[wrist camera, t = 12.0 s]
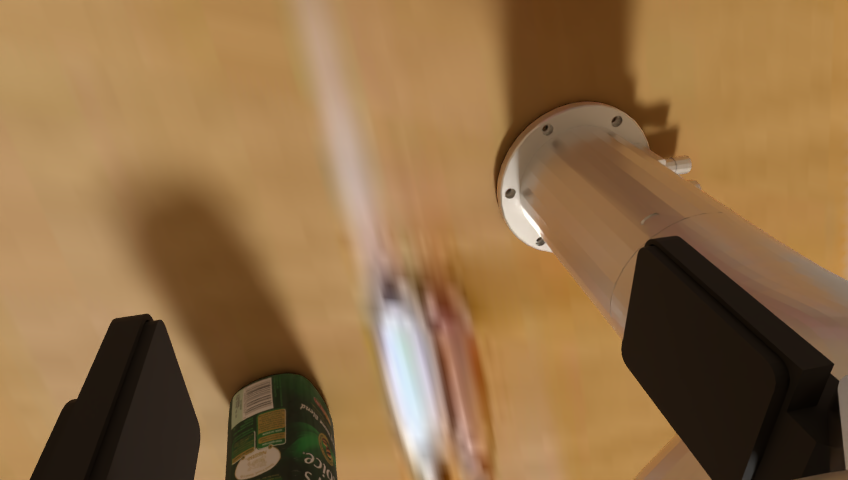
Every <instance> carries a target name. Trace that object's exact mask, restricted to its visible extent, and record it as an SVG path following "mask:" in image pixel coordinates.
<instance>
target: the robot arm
mask: <svg viewBox="0 0 848 480" xmlns="http://www.w3.org/2000/svg"><path fill="white" fill-rule="evenodd" d="M545 125H546V127H545V128H544V129H543V127H544V126H545ZM690 170H691V160H690V158H689V157H688V156H678V157H670V158H669V159H663V158H662V157H660V156H659V155H657V154H656V153H654V152H653V151H651V150H650V149H649V143H648V141H647V139H646V136H645V134H644V132H643V130H642V129H641V128H640V126H639V125H638V124H637V122H636V121H635V120H634V119H632V118H631V117H630V116H628V115H627V114H626V113H624V112H623V111H621V110H619V109H617V108H615V107H613V106H610V105H607V104H604V103H600V102H588V101H586V102H577V103H571V104H567V105H564V106H561V107H558V108H555V109H553V110H552V111H550V112H548V113H546V114H544V115H542V116H541V117H539V118H538V119H537V120H535V121H534V122H533V123H531V124H530V125H529V126H528V127H527V128H526V129H525V130H524V131H523V132H522V133H521V134H520V135H519V136H518V137H517V139H516V140H515V141H514V143H513V144H512V146H511V147H510V149H509V150H508V152H507V154H506V156H505V159H504V161H503V163H502V165H501V169H500V173H499V176H498V183H497V199H498V206H499V209H500V212H501V214H502V217H503V219H504V221H505V222H506V224H507V225H508V227H509V229H510V230H511V231H512V232H513V233H514V234H515V236H516V237H517V238H518V239H520V240H521V241H522V242H524V243H525V244H527V245H528V246H531V247H533V248H535V249H538V250H542V251H547V252H553V253H554V254H555V255H556V257H557V258H558V259H559V260H560V262H561V263H562V264H563V265H564V267H565V268H566V269H567V271H568V272H569V273H570V274H571V276H572V277H573V278H574V279H575V281H576V282H577V283H578V284H579V286H580V287H581V288H582V290H583V291H584V292H585V293H586V295H587V296H588V297H589V298H590V300H591V301H592V302H593V304H594V305H595V306H596V307H597V309H598V310H599V311H600V312H601V314H602V315H603V316H604V317H605V319H606V320H607V321H608V323H609V324H610V325H611V326H612V328H613V329H614V330H615V331H616V333H617V334H618V335H619V336H620V338H621V339H622V340H623V341H622V348H621V351H622V357H623V360H624V362H625V364H626V366H627V367H628V369H629V370H630V371H631V373H632V374H633V375H634V377H635V378H636V379H637V381H638V382H639V383H640V385H641V386H642V387H643V389H644V390H645V391H646V393H647V394H648V395H649V397H650V398H651V399H652V401H653V402H654V403H655V405H656V406H657V407H658V409H659V410H660V411H661V413H662V414H663V415H664V417H665V418H666V419H667V421H668V422H669V423H670V425H671V426H672V427H673V429H674V430H675V431H676V433H677V434H676V435H675V436H674V437H673V438H672V439H671V440H670V441H669V442H668V443H667V444H666V445H665V446H664V447H663V449H662V450H661V451H660V452H659V453H658V454H657V455H656V456H655V457H654V458H653V459H652V460H651V461H650V462H649V463H648V464H647V465H646V466H645V467H644V468H643V469H642V471H641V472H640V473H639V474H638V475H637V476H636V477H635V478H634V479H633V480H848V281H847V280H845V279H844V278H842V277H840V276H838V275H836V274H834V273H832V272H830V271H828V270H826V269H824V268H822V267H821V266H819V265H817V264H816V263H814V262H812V261H811V260H809V259H807V258H806V257H804V256H802V255H801V254H799V253H798V252H796V251H794V250H793V249H791V248H789V247H788V246H786V245H784V244H783V243H781V242H779V241H778V240H776V239H775V238H773V237H772V236H770V235H769V234H767V233H765V232H764V231H762V230H761V229H759V228H758V227H756V226H755V225H753V224H752V223H750V222H749V221H747V220H746V219H744V218H743V217H741V216H740V215H738V214H737V213H735V212H734V211H732V210H731V209H729V208H728V207H726V206H725V205H723V204H722V203H720V202H719V201H717V200H716V199H714V198H713V197H711V196H710V195H708V194H707V193H705V192H704V191H702V190H701V187H700V184H699V183H698V182H697V181H696V180H686V179H684V178H683V177H681V176H680V175H678V174H685V173H688V172H690ZM508 189H509V190H508ZM507 190H508V191H507ZM199 446H200V428H199V423H198V420H197V417H196V414H195V411H194V408H193V405H192V403H191V400H190V397H189V394H188V391H187V388H186V385H185V382H184V379H183V376H182V373H181V370H180V368H179V365H178V362H177V359H176V356H175V353H174V350H173V347H172V344H171V341H170V338H169V335H168V333H167V330H166V327H165V324H164V322H163V321H162V320H156V321H153V319H152V317H151V316H150V315H149V314H142V315H135V316H129V317H122V318H116V319H113V320H112V322H111V324H110V326H109V328H108V330H107V333H106V335H105V337H104V339H103V342H102V344H101V346H100V349H99V351H98V353H97V355H96V358H95V360H94V362H93V364H92V367H91V369H90V371H89V374H88V376H87V378H86V380H85V383H84V385H83V387H82V389H81V392H80V394H79V396H78V398H77V399H74V400H71V401H69V402H68V403H66V405H65V406H64V408H63V409H62V411H61V413H60V415H59V418H58V420H57V422H56V424H55V426H54V428H53V431H52V433H51V435H50V437H49V439H48V441H47V443H46V446H45V448H44V450H43V452H42V454H41V456H40V459H39V461H38V463H37V465H36V467H35V469H34V472H33V474H32V476H31V478H30V480H194V475H195V469H196V463H197V458H198V452H199Z"/></svg>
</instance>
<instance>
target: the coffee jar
mask: <svg viewBox="0 0 848 480" xmlns="http://www.w3.org/2000/svg"><path fill="white" fill-rule="evenodd" d="M225 480H337V471H336V457H335V443H334V431H333V422H332V418H331V416H330V413H329V410H328V408H327V406H326V404H325V402H324V400H323V399H322V397H321V396H320V394H319V392H318V391H317V390H316V388H315V387H314V386H313V385H312V384H311V382H310V381H309V380H307V379H306V378H305V377H303V376H301V375H297V374H290V373H285V374H277V375H271V376H267V377H264V378H261V379H259V380H256V381H254V382H252V383H250V384H248V385H247V386H245V387H244V388H242V389H241V390H239V391H238V392H237V393H236V394H235V395H234V397H233V398H232V400H231V403H230V409H229V421H228V441H227V462H226V477H225Z"/></svg>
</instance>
